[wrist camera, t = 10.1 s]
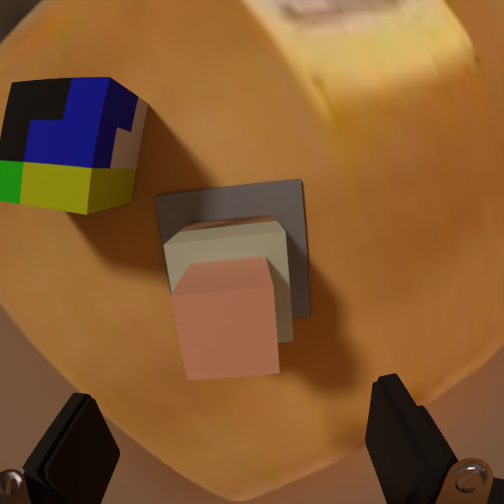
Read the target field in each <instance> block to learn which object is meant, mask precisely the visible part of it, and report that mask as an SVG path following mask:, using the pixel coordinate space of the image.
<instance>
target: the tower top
mask: <svg viewBox="0 0 504 504" xmlns="http://www.w3.org/2000/svg"><path fill="white" fill-rule="evenodd" d="M164 251H165V257H166V263H167V269H168V274H169V280H170V285H171V290H172V292H173V290H174V289H175V287H176V285H177V284H178V282H179V280H180V279H181V277H182V275H183V274H184V272H185V271H186V269H187V267H188V266H189V264H190V263H199V262H210V261H221V260H231V259H242V258H252V257H263V256H266V259H267V263H268V267H269V271H270V275H271V279H272V283H273V288H274V301H275V314H276V327H277V341H278V343H283V342H291V341H294V338H293V323H292V308H291V295H290V281H289V269H288V257H287V245H286V234H285V230H284V229H283V227H282V226H281V225H280V223H279V222H278V221H271V222H262V223H252V224H243V225H235V226H226V227H217V228H209V229H200V230H192V231H184V232H178V233H177V234H176V235H175V236H173V237H172V238H171V239H170V240H169V241H168V242H166V243H165V244H164Z"/></svg>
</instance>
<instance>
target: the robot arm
mask: <svg viewBox="0 0 504 504" xmlns="http://www.w3.org/2000/svg"><path fill="white" fill-rule="evenodd" d="M365 442H366V446H367V449H368V452H369V455H370V457H371V460H372V463H373V466H374V468H375V471H376V474H377V476H378V479H379V482H380V485H381V488H382V491H383V494H384V496H385V500H386V502H387V504H504V479H499V478H494V477H493V473H492V469H491V468H490V467H489V465H488V464H486V463H485V462H484V461H482V460H479V459H475V458H468V459H463V460H461V461H458V459H457V458H456V456H455V454H454V453H453V451H452V449H451V448H450V446H449V444H448V443H447V441H446V440H445V438H444V436H443V435H442V433H441V432H440V430H439V428H438V427H437V425H436V424H435V422H434V421H433V419H432V417H431V416H430V414H429V413H428V411H427V410H426V408H425V407H424V406H422V405H420V406H417V405H416V403H415V402H414V400H413V399H412V397H411V395H410V394H409V392H408V391H407V389H406V388H405V386H404V384H403V383H402V381H401V380H400V378H399V377H398V375H397V374H395V373H394V374H389V375H385V376H380V377H379V378H378V380H377V382H373V385H372V393H371V401H370V409H369V416H368V423H367V430H366V436H365ZM119 457H120V451H119V448H118V446H117V444H116V443H115V440H114V438H113V436H112V434H111V432H110V430H109V428H108V426H107V424H106V422H105V420H104V418H103V416H102V414H101V411H100V409H99V407H98V405H97V403H96V401H95V399H93V398H92V397H91V396H90V395H89V394H83V393H74V394H72V396H71V397H70V398H69V400H68V401H67V403H66V404H65V405H64V407H63V408H62V410H61V411H60V412H59V414H58V415H57V417H56V418H55V420H54V421H53V422H52V424H51V425H50V427H49V428H48V430H47V431H46V433H45V434H44V436H43V437H42V439H41V440H40V441H39V443H38V445H37V446H36V447H35V449H34V450H33V452H32V453H31V455H30V456H29V458H28V459H27V461H26V463H25V464H24V466H23V467H22V468H23V469H24V470H25V472H24V474H22V473H21V472H20V471H18V470H15V469H7V470H4V471H2V472H0V504H101V502H102V499H103V497H104V494H105V492H106V489H107V486H108V484H109V481H110V479H111V476H112V474H113V472H114V469H115V467H116V464H117V462H118V460H119Z"/></svg>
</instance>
